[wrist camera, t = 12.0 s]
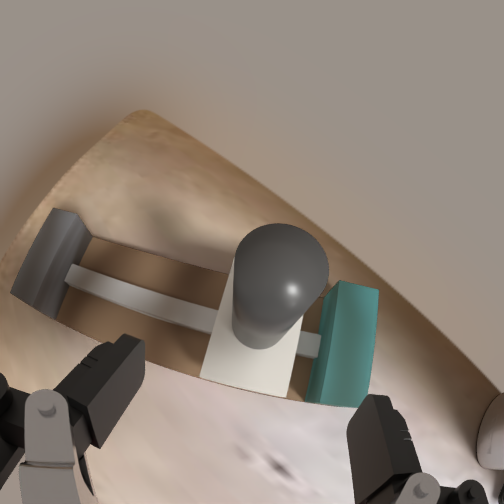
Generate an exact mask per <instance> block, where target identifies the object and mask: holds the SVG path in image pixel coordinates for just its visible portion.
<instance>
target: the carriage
mask: <svg viewBox="0 0 504 504" xmlns="http://www.w3.org/2000/svg"><path fill="white" fill-rule="evenodd" d="M328 276H329V264H328V260H327V257H326V254H325V252H324V250H323V248H322V247H321V245H320V244H319V242H318V241H317V240H316V239H315V238H314V237H313V236H312V235H310V234H309V233H308V232H306V231H304V230H302V229H300V228H298V227H296V226H292V225H288V224H280V223H277V224H268V225H264V226H261V227H258V228H256V229H254V230H253V231H251V232H250V233H249V234H247V235H246V236H245V237H244V238H243V240H242V241H241V242H240V244H239V246H238V248H237V250H236V253H235V257H234V260H233V263H232V267H231V270H230V273H229V277H228V280H227V283H226V287H225V290H224V293H223V297H222V300H221V303H220V307H219V310H218V314H217V317H216V320H215V324H214V327H213V331H212V334H211V337H210V341H209V344H208V348H207V351H206V355H205V358H204V362H203V365H202V369H201V372H200V376H199V377H201V378H203V379H206V380H210V381H214V382H217V383H221V384H225V385H229V386H232V387H236V388H241V389H245V390H249V391H253V392H258V393H262V394H267V395H272V396H277V397H286V395H287V391H288V387H289V382H290V378H291V373H292V369H293V364H294V359H295V354H296V350H297V345H298V340H299V335H300V329H301V324H302V319H303V314H304V313H305V312H306V311H307V310H308V309H309V307H310V306H311V305H312V304H313V303H314V302H315V300H316V299H317V298H318V297H319V296H320V294H321V293H322V292H323V290H324V288H325V286H326V284H327V281H328Z"/></svg>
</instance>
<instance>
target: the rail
mask: <svg viewBox="0 0 504 504" xmlns="http://www.w3.org/2000/svg"><path fill="white" fill-rule="evenodd" d="M228 277H229V275H228V274H224V273H221V272H217V271H213V270H209V269H205V268H202V267H198V266H194V265H190V264H187V263H183V262H179V261H176V260H172V259H168V258H165V257H161V256H157V255H154V254H150V253H147V252H143V251H140V250H136V249H133V248H129V247H126V246H122V245H119V244H115V243H112V242H108V241H105V240H102V239H98V238H95V237H93V236H92V235H91V234H90V232H89V231H88V229H87V228H86V226H85V225H84V223H83V222H82V221H81V219H80V218H79V216H78V215H77V214H75V213H71V212H68V211H64V210H60V209H56V208H53V209H52V211H51V212H50V214H49V216H48V217H47V219H46V221H45V222H44V224H43V226H42V228H41V229H40V231H39V233H38V235H37V237H36V239H35V240H34V242H33V244H32V246H31V248H30V250H29V252H28V254H27V256H26V258H25V260H24V262H23V264H22V267H21V269H20V271H19V273H18V275H17V277H16V280H15V282H14V284H13V287H12V289H11V292H10V293H11V294H13V295H14V296H16V297H17V298H19V299H20V300H22V301H23V302H25V303H27V304H28V305H30V306H31V307H33V308H35V309H36V310H38V311H40V312H41V313H43V314H45V315H47V316H49V317H50V318H52V319H54V320H56V321H58V322H60V323H62V324H64V325H66V326H68V327H70V328H72V329H74V330H76V331H78V332H80V333H82V334H84V335H86V336H88V337H91V338H93V339H95V340H97V341H99V342H102V343H105V342H107V341H109V342H111V343H113V344H114V343H115V342H116V341H117V339H118V338H119V337H120V336H121V335H122V334H124V333H126V334H128V335H131V336H134V337H136V338H139V339H141V340H144V341H145V360H146V361H149V362H152V363H154V364H157V365H160V366H163V367H166V368H169V369H172V370H175V371H178V372H181V373H184V374H187V375H190V376H194V377H197V378H200V379H203V378H201V377H199V376H200V372H201V369H202V365H203V362H204V358H205V355H206V351H207V348H208V344H209V341H210V337H211V334H212V331H213V327H214V324H215V320H216V317H217V314H218V310H219V307H220V303H221V300H222V297H223V293H224V290H225V287H226V283H227V280H228ZM378 297H379V290H378V289H374V288H369V287H365V286H361V285H357V284H353V283H349V282H345V281H341V280H339V281H338V282H337V284H336V285H335V286H334V287H333V288H332V289H331V290H330V291H329V293H328V294H327V295H326V296H325V297H324V298H322V297H318V298H317V299H316V300H315V302H314V303H313V304H312V305H311V306H310V307H309V309H308V310H307V311H306V312H305V313H304V314H303V319H302V324H301V329H300V335H299V340H298V345H297V350H296V354H295V359H294V364H293V369H292V373H291V378H290V382H289V387H288V391H287V395H286V397H278V398H283V399H289V400H295V401H301V402H307V403H313V404H320V405H328V406H336V407H352V408H359V406H360V405H361V403H362V401H363V400H364V398H365V397H366V396H367V394H368V388H369V382H370V375H371V369H372V361H373V353H374V345H375V335H376V325H377V312H378ZM204 380H206V379H204ZM207 381H210V380H207ZM211 382H214V381H211ZM214 383H217V382H214ZM218 384H221V383H218ZM222 385H225V384H222ZM225 386H229V385H225ZM229 387H232V386H229ZM233 388H236V387H233ZM237 389H241V388H237ZM241 390H245V389H241ZM246 391H249V390H246ZM250 392H253V391H250ZM254 393H258V392H254ZM259 394H262V393H259ZM263 395H267V394H263ZM268 396H272V395H268ZM273 397H277V396H273Z"/></svg>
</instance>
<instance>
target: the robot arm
mask: <svg viewBox="0 0 504 504" xmlns="http://www.w3.org/2000/svg"><path fill="white" fill-rule="evenodd" d="M144 375H145V341H144V340H141V339H139V338H136V337H134V336H131V335H128V334H126V333H124V334H122V335H121V336H120V337H119V338H118V339H117V341H116V342H115V343H114V344H113V343H111V342H109V341H107V342H105V343H103V344H100V345H98V346H96V347H95V348H94V349H93V350H92V351H91V352H90V353H89V354H88V355H87V357H85V358H84V359H83V360H82V361H81V363H80V364H78V365H77V366H76V367H75V368H74V369H73V370H72V371H71V372H70V373H69V374H68V375H67V376H66V377H65V378H64V379H63V380H62V381H61V382H60V383H59V385H58V386H57V387H56V388H54V389H53V390H48V389H42V390H38V391H35V392H33V393H32V394H28V393H26V392H23V391H20V390H17V389H14V388H11V387H9V385H8V383H7V380H6V378H5V377H4V375H3V374H2V373H0V490H1V488H2V486H3V485H4V483H5V482H6V480H7V479H8V477H9V475H10V474H11V472H12V471H13V470H14V468H15V467H16V465H17V463H18V462H19V461H20V459H21V458H22V456H23V455H24V453H25V462H24V463H20V465H19V480H20V489H21V496H22V503H23V504H99V502H98V500H97V497H96V493H95V490H94V486H93V483H92V479H91V475H90V471H89V466H88V462H87V457H86V453H85V451H86V450H87V448H88V447H89V445H90V444H91V445H93V446H95V447H97V448H99V449H101V447H102V445H103V444H104V442H105V441H106V439H107V438H108V436H109V434H110V433H111V431H112V430H113V428H114V427H115V425H116V424H117V422H118V420H119V419H120V417H121V416H122V414H123V413H124V411H125V410H126V408H127V407H128V405H129V403H130V402H131V400H132V399H133V397H134V396H135V394H136V393H137V391H138V390H139V388H140V387H141V385H142V382H143V379H144ZM347 442H348V449H349V456H350V464H351V472H352V480H353V489H354V498H355V504H489V503H488V500H487V497H486V493H485V490H484V488H483V486H482V485H481V484H480V483H479V482H477V481H475V480H466V481H464V482H463V483H462V484H461V485H459V486H458V487H457V488H451V487H443V486H440V485H439V483H438V481H437V480H436V479H435V478H434V477H433V476H431V475H430V474H427V473H423V472H422V469H421V466H420V463H419V460H418V457H417V454H416V450H415V447H414V444H413V441H411V436H410V433H409V432H408V427H407V424H406V422H405V419H404V418H403V417H402V415H401V414H400V413H399V412H398V411H397V410H394V409H393V406H392V403H391V401H390V398H389V397H388V396H385V395H374V394H368V395H367V396H366V397H365V398H364V400H363V401H362V403H361V405H360V406H359V408H358V409H357V411H356V412H355V414H354V415H353V417H352V418H351V420H350V421H349V424H348V427H347ZM477 457H478V461H479V463H480V465H481V466H482V467H483V468H485V469H495V470H504V393H502V394H500V395H498V396H497V397H496V398H495V399H494V400H493V402H492V403H491V404H490V406H489V408H488V409H487V411H486V413H485V415H484V418H483V420H482V423H481V426H480V430H479V434H478V440H477Z"/></svg>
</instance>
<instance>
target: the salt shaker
mask: <svg viewBox="0 0 504 504" xmlns="http://www.w3.org/2000/svg"><path fill="white" fill-rule="evenodd" d="M498 502H499V504H504V485H503V487H502V489H501V492H500V495H499V501H498Z"/></svg>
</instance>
